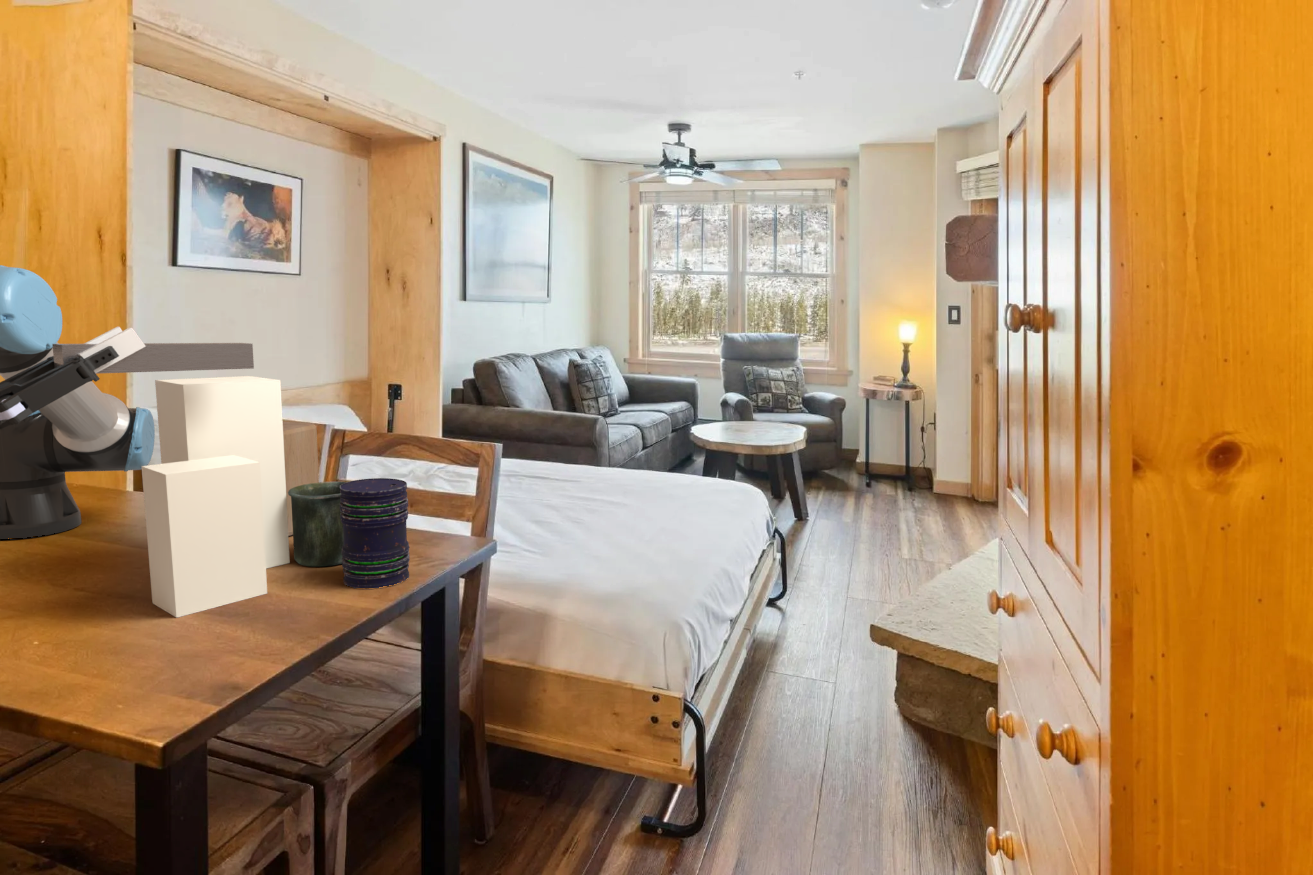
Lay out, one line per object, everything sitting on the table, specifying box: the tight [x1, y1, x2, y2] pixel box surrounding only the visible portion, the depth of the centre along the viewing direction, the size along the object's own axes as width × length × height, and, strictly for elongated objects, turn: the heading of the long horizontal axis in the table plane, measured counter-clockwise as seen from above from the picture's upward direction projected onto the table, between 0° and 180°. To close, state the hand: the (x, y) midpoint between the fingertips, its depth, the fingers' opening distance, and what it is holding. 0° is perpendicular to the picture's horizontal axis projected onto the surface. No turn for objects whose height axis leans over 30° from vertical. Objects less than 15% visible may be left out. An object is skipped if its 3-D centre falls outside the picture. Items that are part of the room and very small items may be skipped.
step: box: [141, 455, 268, 619], centre depth 107 cm, size 8×12×20 cm, turn 143°
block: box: [282, 420, 320, 537], centre depth 142 cm, size 10×10×20 cm
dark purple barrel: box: [340, 477, 411, 589], centre depth 117 cm, size 10×10×15 cm
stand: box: [154, 375, 291, 569], centre depth 119 cm, size 10×14×30 cm
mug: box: [288, 481, 347, 568], centre depth 128 cm, size 11×15×12 cm
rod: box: [52, 342, 255, 375], centre depth 100 cm, size 4×22×4 cm, turn 143°
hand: (131, 336), depth 97 cm, fingers closed on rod, 3 cm apart
